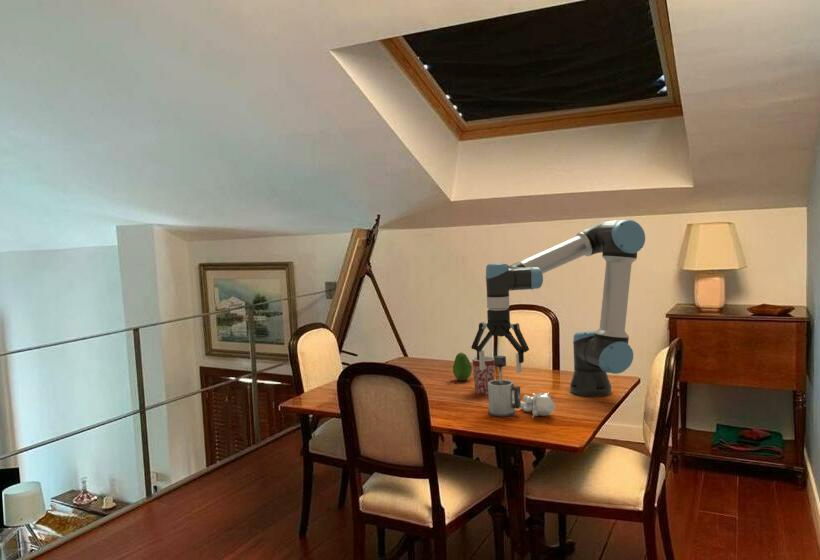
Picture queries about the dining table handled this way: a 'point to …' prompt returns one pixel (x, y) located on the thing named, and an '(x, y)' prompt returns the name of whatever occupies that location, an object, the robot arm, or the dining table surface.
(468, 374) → the avocado
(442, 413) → the dining table surface
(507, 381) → the grey coffee mug
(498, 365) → the plunger
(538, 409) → the figurine
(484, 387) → the mug
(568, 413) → the dining table surface
